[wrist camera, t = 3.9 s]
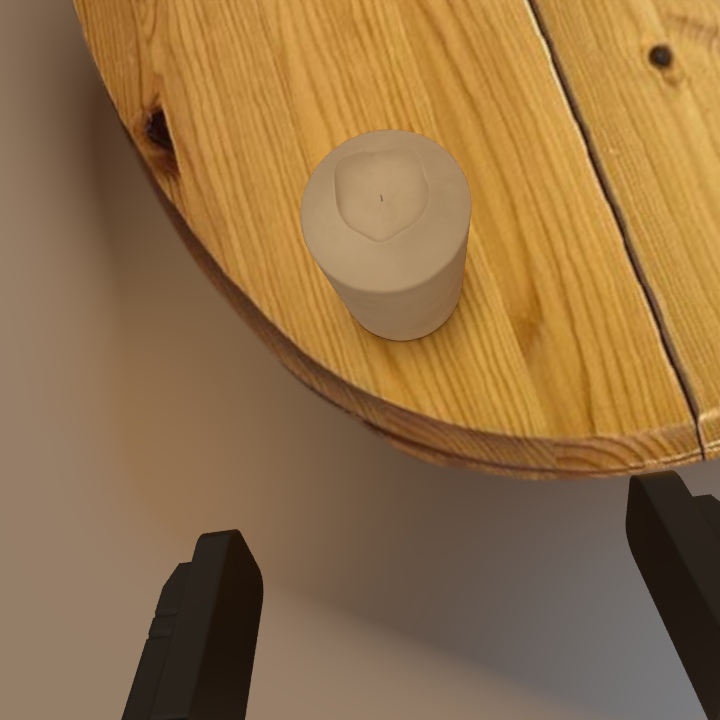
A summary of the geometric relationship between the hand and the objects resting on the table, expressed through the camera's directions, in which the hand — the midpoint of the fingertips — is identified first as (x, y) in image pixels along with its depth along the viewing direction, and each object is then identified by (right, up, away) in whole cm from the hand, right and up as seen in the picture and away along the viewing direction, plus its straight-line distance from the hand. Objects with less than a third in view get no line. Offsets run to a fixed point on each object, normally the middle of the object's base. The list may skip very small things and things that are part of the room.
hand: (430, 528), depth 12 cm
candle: (+1, +7, +15) cm, 16 cm away
